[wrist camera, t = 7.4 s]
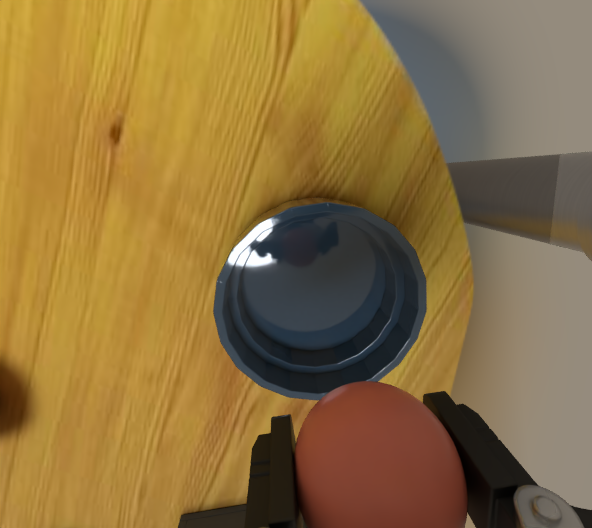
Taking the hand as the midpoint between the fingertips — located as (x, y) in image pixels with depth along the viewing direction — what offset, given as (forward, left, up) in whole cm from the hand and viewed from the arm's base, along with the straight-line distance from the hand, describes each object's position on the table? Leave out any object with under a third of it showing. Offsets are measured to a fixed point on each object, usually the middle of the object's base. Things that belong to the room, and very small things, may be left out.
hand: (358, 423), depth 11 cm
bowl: (0, 0, -14) cm, 14 cm away
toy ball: (0, 0, +2) cm, 2 cm away
